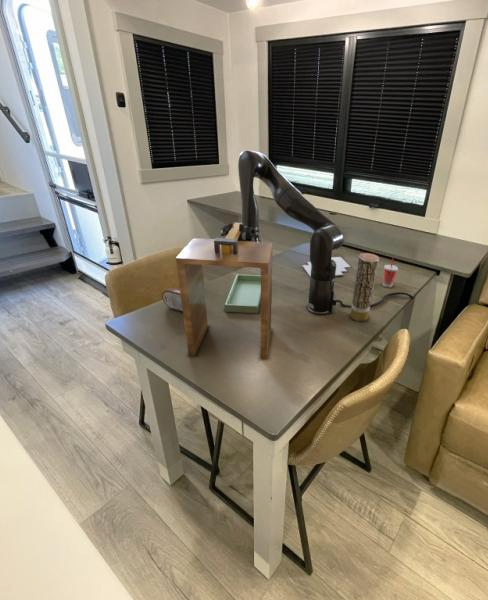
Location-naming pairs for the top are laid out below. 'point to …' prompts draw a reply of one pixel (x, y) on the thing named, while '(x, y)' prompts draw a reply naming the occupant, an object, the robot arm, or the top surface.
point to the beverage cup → (389, 274)
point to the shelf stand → (210, 254)
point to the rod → (232, 234)
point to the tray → (244, 294)
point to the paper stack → (339, 266)
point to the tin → (172, 298)
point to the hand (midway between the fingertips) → (235, 226)
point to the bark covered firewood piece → (364, 286)
